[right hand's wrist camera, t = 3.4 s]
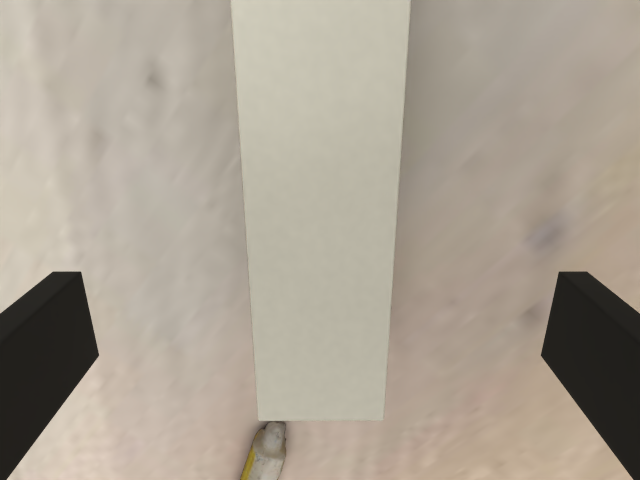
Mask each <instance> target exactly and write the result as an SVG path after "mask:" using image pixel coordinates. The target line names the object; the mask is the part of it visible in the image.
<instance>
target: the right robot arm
mask: <svg viewBox="0 0 640 480" xmlns="http://www.w3.org/2000/svg"><path fill="white" fill-rule="evenodd" d="M98 356H99V353H98V348H97V344H96V339H95V334H94V330H93V325H92V320H91V316H90V311H89V307H88V302H87V297H86V293H85V288H84V283H83V279H82V274H81V272H52V273H51V274H50V275H48V276H47V277H46V278H45V279H43V280H42V281H41V282H39V283H38V284H37V285H36V286H34V287H33V288H32V289H31V290H29V291H28V292H27V293H26V294H24V295H23V296H22V297H21V298H19V299H18V300H17V301H16V302H14V303H13V304H12V305H11V306H9V307H8V308H7V309H6V310H4V311H3V312H2V313H1V314H0V480H7V478H8V477H9V476H10V474H11V473H12V472H13V470H14V469H15V468H16V466H17V465H18V464H19V462H20V461H21V460H22V458H23V457H24V456H25V454H26V453H27V452H28V450H29V449H30V447H31V446H32V445H33V443H34V442H35V441H36V439H37V438H38V437H39V435H40V434H41V433H42V431H43V430H44V429H45V427H46V426H47V425H48V423H49V422H50V421H51V419H52V418H53V417H54V415H55V414H56V413H57V411H58V410H59V409H60V407H61V406H62V405H63V403H64V402H65V401H66V399H67V398H68V397H69V395H70V394H71V392H72V391H73V390H74V388H75V387H76V386H77V384H78V383H79V382H80V380H81V379H82V378H83V376H84V375H85V374H86V372H87V371H88V370H89V368H90V367H91V366H92V364H93V363H94V362H95V360H96V359H97V358H98ZM541 356H542V358H543V359H544V360H545V362H546V363H547V364H548V366H549V367H550V368H551V370H552V371H553V372H554V374H555V375H556V376H557V378H558V379H559V380H560V382H561V383H562V384H563V386H564V387H565V388H566V390H567V391H568V392H569V394H570V395H571V397H572V398H573V399H574V401H575V402H576V403H577V405H578V406H579V407H580V409H581V410H582V411H583V413H584V414H585V415H586V417H587V418H588V419H589V421H590V422H591V423H592V425H593V426H594V427H595V429H596V430H597V431H598V433H599V434H600V435H601V437H602V438H603V439H604V441H605V442H606V443H607V445H608V446H609V447H610V449H611V450H612V452H613V453H614V454H615V456H616V457H617V458H618V460H619V461H620V462H621V464H622V465H623V466H624V468H625V469H626V470H627V472H628V473H629V474H630V476H631V477H632V478H633V480H640V314H639V313H638V312H637V311H636V310H634V309H633V308H632V307H631V306H629V305H628V304H627V303H626V302H624V301H623V300H622V299H621V298H619V297H618V296H617V295H616V294H614V293H613V292H612V291H611V290H609V289H608V288H607V287H606V286H604V285H603V284H602V283H601V282H599V281H598V280H597V279H595V278H594V277H593V276H592V275H590V274H589V273H588V272H559V274H558V279H557V283H556V288H555V293H554V297H553V302H552V307H551V311H550V316H549V320H548V325H547V330H546V334H545V339H544V344H543V348H542V353H541Z"/></svg>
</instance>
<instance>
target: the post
mask: <svg viewBox="0 0 640 480" xmlns="http://www.w3.org/2000/svg"><path fill="white" fill-rule="evenodd" d="M230 4H231V20H232V35H233V50H234V65H235V80H236V96H237V111H238V126H239V141H240V156H241V171H242V187H243V202H244V217H245V232H246V247H247V262H248V278H249V293H250V308H251V323H252V338H253V354H254V369H255V384H256V399H257V414H258V421H383V420H384V410H385V395H386V380H387V364H388V349H389V334H390V318H391V303H392V288H393V272H394V257H395V242H396V226H397V211H398V196H399V180H400V165H401V150H402V135H403V119H404V104H405V89H406V73H407V58H408V43H409V27H410V12H411V0H230Z"/></svg>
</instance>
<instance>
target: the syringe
mask: <svg viewBox="0 0 640 480" xmlns="http://www.w3.org/2000/svg"><path fill="white" fill-rule="evenodd" d="M285 429H286V424H285V423H284V422H282V421H272V422H269V423H268V424H267V425H266V427H265V429H264V430H263V429H260V430H259V431H258V432H257V434H256V435H255V438H254V441H253V444H252V446H251V450H250V452H249V454H248V458H247V461H246V464H245V466H244V469H243V473H242V476H241V479H240V480H278V478H279V476H280V474H281V471H282V467H283V464H284V459H285V457H286V448H285V441H286V439H285V436H284V433H285Z"/></svg>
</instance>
